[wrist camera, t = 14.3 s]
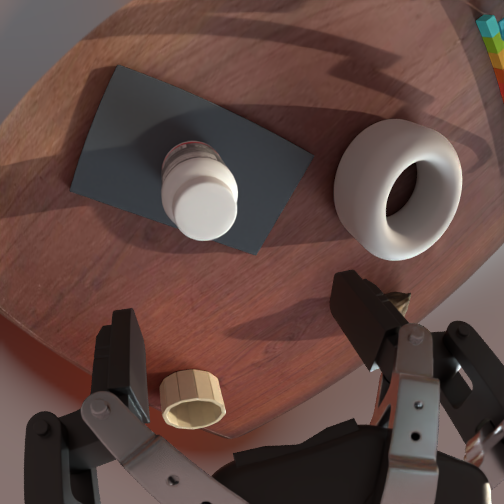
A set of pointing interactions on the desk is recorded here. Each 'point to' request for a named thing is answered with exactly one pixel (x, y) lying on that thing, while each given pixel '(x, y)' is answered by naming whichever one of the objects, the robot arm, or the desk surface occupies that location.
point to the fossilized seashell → (399, 301)
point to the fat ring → (382, 179)
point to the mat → (171, 134)
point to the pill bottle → (198, 191)
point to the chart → (494, 45)
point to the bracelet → (191, 399)
